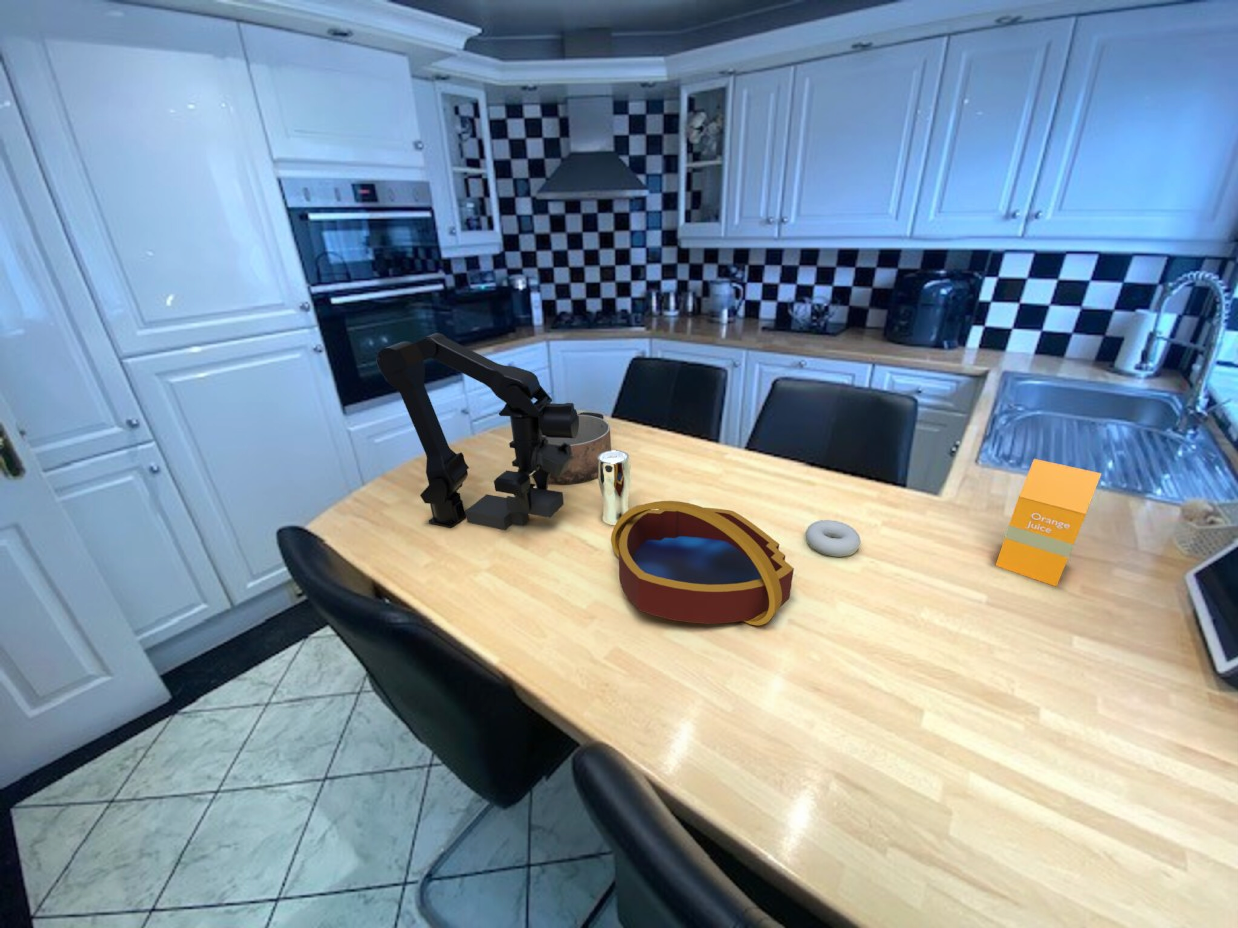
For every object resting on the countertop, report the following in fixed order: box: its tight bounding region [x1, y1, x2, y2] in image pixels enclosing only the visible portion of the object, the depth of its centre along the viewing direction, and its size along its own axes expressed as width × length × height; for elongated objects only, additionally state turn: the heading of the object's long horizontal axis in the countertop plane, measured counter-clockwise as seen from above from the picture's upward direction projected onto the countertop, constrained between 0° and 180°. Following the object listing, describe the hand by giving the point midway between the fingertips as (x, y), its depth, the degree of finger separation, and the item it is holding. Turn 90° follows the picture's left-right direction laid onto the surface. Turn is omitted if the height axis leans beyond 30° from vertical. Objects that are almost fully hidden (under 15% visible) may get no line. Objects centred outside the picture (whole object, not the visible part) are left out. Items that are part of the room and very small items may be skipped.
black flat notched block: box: [505, 486, 565, 519], centre depth 108 cm, size 10×6×3 cm, turn 68°
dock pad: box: [464, 494, 530, 531], centre depth 113 cm, size 13×8×3 cm, turn 68°
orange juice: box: [995, 458, 1102, 587], centre depth 87 cm, size 8×9×20 cm
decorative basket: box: [610, 500, 795, 626], centre depth 88 cm, size 34×29×15 cm
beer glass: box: [597, 449, 632, 526], centre depth 108 cm, size 7×7×15 cm
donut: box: [805, 519, 861, 557], centre depth 98 cm, size 10×4×10 cm
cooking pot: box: [541, 411, 612, 485], centre depth 134 cm, size 30×22×11 cm
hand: (535, 503), depth 108 cm, fingers closed on black flat notched block, 6 cm apart
